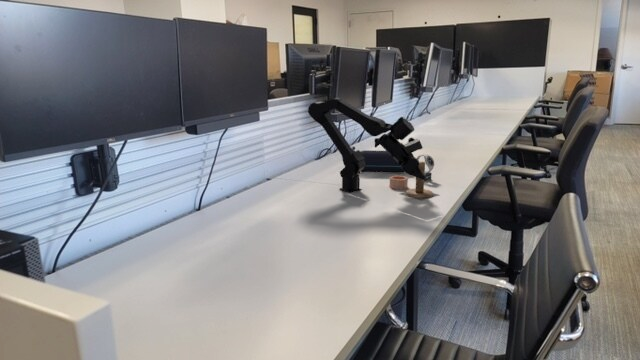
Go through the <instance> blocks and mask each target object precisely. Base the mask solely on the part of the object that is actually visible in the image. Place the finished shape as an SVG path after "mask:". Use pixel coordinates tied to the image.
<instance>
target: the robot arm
mask: <svg viewBox="0 0 640 360" xmlns="http://www.w3.org/2000/svg"><path fill="white" fill-rule="evenodd" d="M333 110H336V111H338V112H339V113H341V114H342V115H344V116H345V117H347V118H349V119H351V120H352V121H354V122H356V123H357V124H359V125H360V126H361V127H362V129H363V130H364V131H365V132H366V133H367V134H368V135H370V136H371V137H375V138H374V148H378V146H381V148H383V149H384V151H387V152H388V153H389V154H390V155H391V157H392V158H394V159H395V160H396V161H397V162H398V164H399V165H402V170H403V171H404V172H403V173H405V174H406V175H409V176H412V177H414V178H416V177H417V178H420V179H422V180H424V179H425V176H424V175H423V173H422V172H421V170H420V169H419V162H420V161H418V160H417V159H416V158H417V157H415V156H414V152H416V151H419V150H422V149H423V148H424V147H423V145H422V143H421V141H420V139H419V138H414V137H409V138H408V139H407V140H408V141H407V142H406V143H405V144H404V143H403V142H400V141H403V140H405V139H406V138H407V137H408V136H410V135H411V134H412V133H413V132H414V131H415V127H414V125H413V124H412V123H411V122H410V121H409V120H407V119H406V118H405V117H404V116H400V117H398V119H397V120H396V122H394V123H393V124H391V123H388V122H386V121H385V120H384V119H382V118H379V117H376V116H372V115H369V114H366V113H364V112H363V111H362V110H359V109H358V108H356V107H355V106H353V105H351V104H350V103H348V102H346V101H344V100H343V99H342V98H340V97H335V98H332V99H329V100H328V101H317V102H312V103H310V104H309V105H308V109H307V112H308V113H307V114H308V115H309V116H310V117H311V119H312V120H313V121H315V122H316V123H317V124H319V125H320V126H321V127H322V128H323V130H324V132H325V133H326V134H327V136H328V137H329V139H330V140H331V142H332V143H333V144H334V146H335V147H336V149H337V150H338V152H339V154H340V155H341V158H342V159H341V160H342V163H343V166H344V167H343V168H342V169H341V170H340V171H339V175H340V177H341V187H340V188H339V191H342V192H344V193H350V194H351V193H355V192H359V191H362V190H363V189H362V188H360V187H361V186H360V182H361V181H360V174H361V173H362V172H361V170H362V169H363V168H364V167H365V160H364V159H365V158H364V157H363V156H362V155H361V152H360V151H361V150H360V149H357V150H356V151H355V150H354V149H353V148H352V146H351V145H350V144H349V143H348V141H347V140H346V138H345V136H344V135H343V133H342V132H341V131H340V130H339V129H340V128H338V126H337V124H336V123H335V122H334V120H333V119H332V112H331V111H333ZM387 132H388V133H387ZM378 136H379V137H378ZM376 137H378V138H376ZM399 140H400V141H399Z"/></svg>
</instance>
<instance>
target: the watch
mask: <svg viewBox="0 0 640 360" xmlns="http://www.w3.org/2000/svg"><path fill="white" fill-rule="evenodd" d="M421 157H423V158H424V162H425V166H427V167H428V170H427V171H426V170H425V174H424V176H425V179H424V182H427V181H432V174H433V173H432V171H433V169H434V166H435V160H434V158H433V157H432V156H431V155H428V154H425V153H424V154H420V155H418V156H417V157H415V158H416V159H417V160H418V161H419V160H420V159H421ZM419 162H420V161H419Z"/></svg>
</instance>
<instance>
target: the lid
mask: <svg viewBox="0 0 640 360" xmlns="http://www.w3.org/2000/svg"><path fill="white" fill-rule="evenodd" d="M419 169H420V170H421V172H422V173H423V175H424V174H425V171H426V163H425V161H419ZM424 184H425V181H424V180H422V179H420V178H417V177H415V188H410V189H407V190H406V191H405V192H406V195H407V196H410V197H409V198H411V197H413V198H412V199H414V198H429V197H432V196H433V193H434V192H433V191H431V190H430V189H424V188H425V185H424ZM407 196H406V197H407ZM432 198H433V197H432ZM429 199H430V198H429Z"/></svg>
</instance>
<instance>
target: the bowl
mask: <svg viewBox="0 0 640 360" xmlns="http://www.w3.org/2000/svg"><path fill="white" fill-rule="evenodd" d="M408 183H409V178H408V177H407V176H405V175H404V176H403V175H393V176H390V177H389V184H388V185H389V188H391V189H395V190H403V189H404V190H405V189H407V188H408V185H409V184H408Z"/></svg>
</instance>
